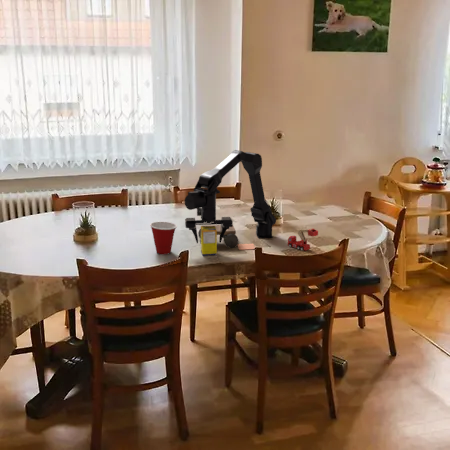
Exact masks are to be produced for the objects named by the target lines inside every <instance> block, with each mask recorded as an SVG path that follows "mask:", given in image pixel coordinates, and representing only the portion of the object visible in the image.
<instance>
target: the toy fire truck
mask: <svg viewBox="0 0 450 450" xmlns="http://www.w3.org/2000/svg"><path fill="white" fill-rule="evenodd" d="M296 233H297V234H298V237H299V238H300V240H297V235H290V236H289V237H288V239H287V246H288V247H289V248H295V249H297V250H300V251H302V252H303V251H305V252H306V251H308V250H310V249H311V244H309V243H308V239H306V237H305V234H304V233H307V236H308V237H312V238H313V237H316V236H318V235H319V231H318V230H317V229H315V228H309V229H299V230H297V231H296Z"/></svg>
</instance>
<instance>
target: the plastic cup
mask: <svg viewBox="0 0 450 450" xmlns="http://www.w3.org/2000/svg"><path fill="white" fill-rule="evenodd" d="M149 226H150V228H151V232H152V237H153V241H154V246H155V250H156V254H158V253H159V254H158V255H169V254H170V252H172V246H173V242H174V236H175V235H174V234H175V231H176V229H177V227H178V225H177V224H176V223H173V222H169V221H155V222H154V221H153V222H150V224H149ZM168 253H169V254H168Z"/></svg>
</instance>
